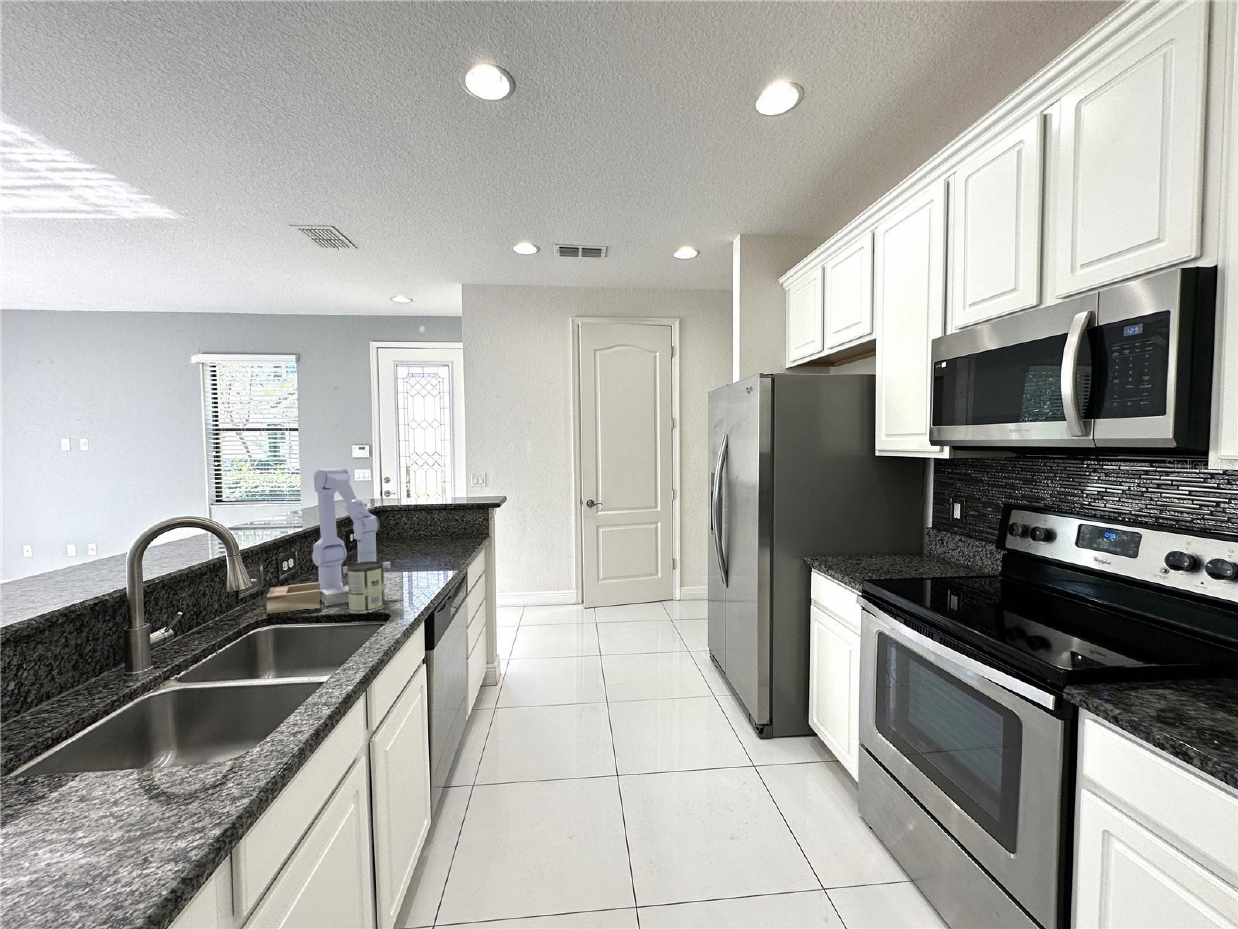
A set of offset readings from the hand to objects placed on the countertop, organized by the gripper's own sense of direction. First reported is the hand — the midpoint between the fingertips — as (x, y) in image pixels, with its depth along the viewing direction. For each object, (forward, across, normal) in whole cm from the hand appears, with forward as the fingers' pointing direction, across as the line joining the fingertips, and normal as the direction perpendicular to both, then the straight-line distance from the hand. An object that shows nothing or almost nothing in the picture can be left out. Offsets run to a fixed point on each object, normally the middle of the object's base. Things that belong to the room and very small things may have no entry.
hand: (367, 591), depth 178 cm
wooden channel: (+2, -21, 0) cm, 21 cm away
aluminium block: (+2, -8, 0) cm, 9 cm away
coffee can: (+2, -1, -15) cm, 15 cm away
